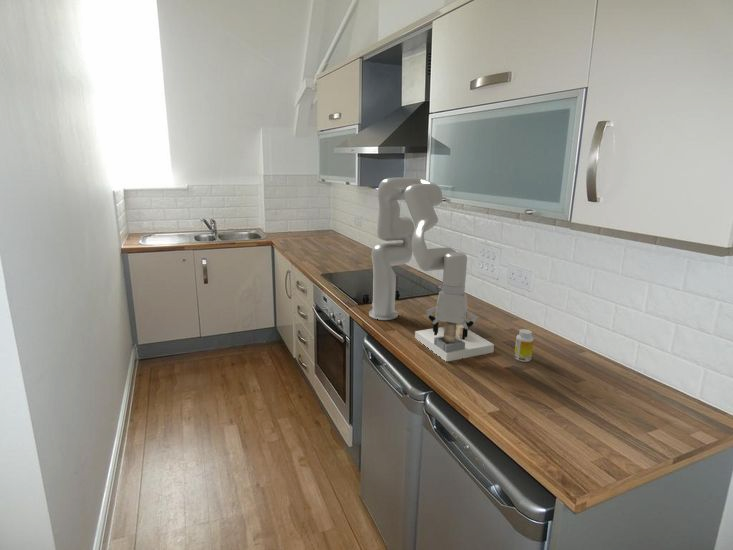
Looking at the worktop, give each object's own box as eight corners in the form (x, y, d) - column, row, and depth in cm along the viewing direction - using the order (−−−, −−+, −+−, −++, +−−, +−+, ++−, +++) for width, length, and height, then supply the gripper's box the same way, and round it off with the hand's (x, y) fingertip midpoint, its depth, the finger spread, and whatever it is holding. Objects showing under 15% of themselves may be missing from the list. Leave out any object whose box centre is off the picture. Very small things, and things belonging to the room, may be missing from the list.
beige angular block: (443, 327, 172) (443, 317, 171) (450, 326, 174) (451, 316, 173) (459, 338, 162) (460, 328, 161) (467, 337, 163) (467, 327, 162)
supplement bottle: (534, 360, 153) (538, 332, 150) (523, 363, 150) (526, 335, 148) (521, 354, 158) (525, 327, 155) (510, 357, 155) (513, 329, 152)
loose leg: (441, 345, 157) (442, 321, 154) (450, 343, 158) (451, 319, 156) (447, 349, 153) (448, 325, 151) (457, 347, 155) (458, 323, 152)
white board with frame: (414, 338, 169) (415, 325, 168) (458, 331, 177) (459, 318, 176) (446, 361, 151) (447, 346, 149) (493, 352, 159) (494, 338, 157)
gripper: (425, 288, 150) (422, 336, 154) (478, 295, 144) (473, 344, 148) (430, 283, 156) (427, 328, 161) (480, 289, 151) (476, 336, 155)
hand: (449, 336), depth 155 cm, fingers open, 9 cm apart
